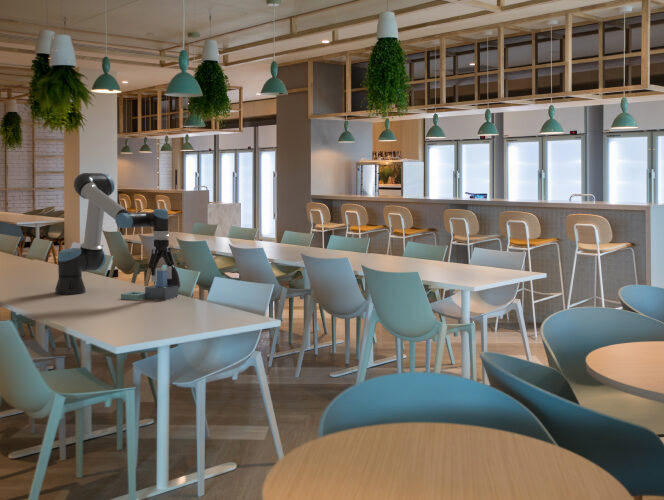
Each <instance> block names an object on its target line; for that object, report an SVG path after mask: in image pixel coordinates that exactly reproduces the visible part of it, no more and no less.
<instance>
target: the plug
mask: <svg viewBox="0 0 664 500" xmlns="http://www.w3.org/2000/svg"><path fill="white" fill-rule="evenodd" d="M156 269H157V282H155V285H156V287H167V268H166V267H156Z"/></svg>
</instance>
